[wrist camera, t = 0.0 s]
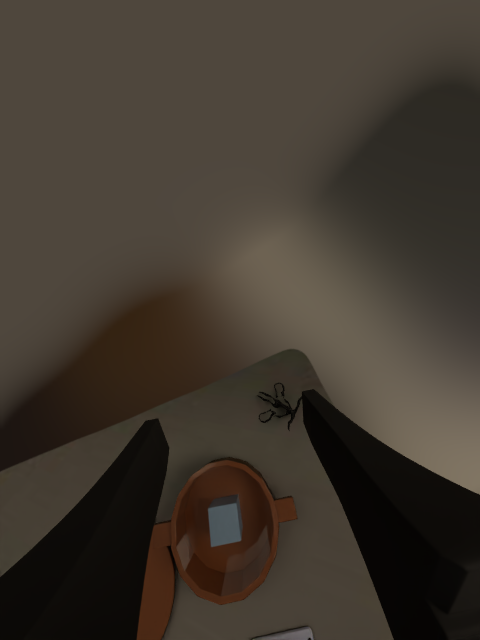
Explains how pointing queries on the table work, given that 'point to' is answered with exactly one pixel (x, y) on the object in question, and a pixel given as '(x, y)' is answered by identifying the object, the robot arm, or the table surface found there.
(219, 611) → the table surface
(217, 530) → the block
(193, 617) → the table surface
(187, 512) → the pot
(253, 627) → the table surface
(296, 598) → the table surface
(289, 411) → the creature
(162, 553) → the lid
